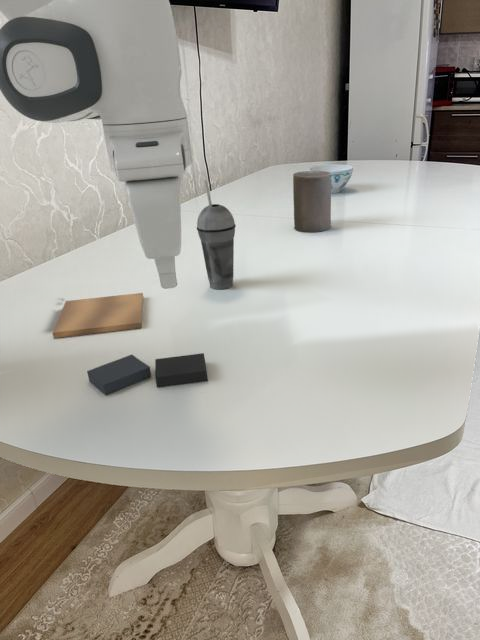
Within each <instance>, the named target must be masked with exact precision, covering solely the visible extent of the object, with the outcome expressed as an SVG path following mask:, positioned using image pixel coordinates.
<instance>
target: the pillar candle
mask: <svg viewBox="0 0 480 640" xmlns="http://www.w3.org/2000/svg"><path fill="white" fill-rule="evenodd" d="M292 187H293V188H292V189H293V190H292V191H293V195H292V196H293V224H294V225H293V229H294V230H295V231H298V232H302V233H318V232H324V231H327V230H330V229H331V225H332V224H331V223H332V221H331V220H332V193H331V173H330V172H326V171H312V168H311V171H308V170H305V171H297V172H294V173H293V175H292Z"/></svg>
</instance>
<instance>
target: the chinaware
mask: <svg viewBox="0 0 480 640" xmlns="http://www.w3.org/2000/svg"><path fill="white" fill-rule="evenodd" d="M311 168H312V171H326V172H330V173H331V194H338V193H340V192H341V190H342V188H344V187H345V186H346V185H347V184H348V182H349V181H350V180H351V177H352V175H353V172H354V166H353V165H348V164H320V165H313V166H310V167H308V168H307V171H311Z"/></svg>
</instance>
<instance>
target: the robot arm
mask: <svg viewBox="0 0 480 640" xmlns="http://www.w3.org/2000/svg"><path fill="white" fill-rule="evenodd" d="M0 13H1V14H2V15H3V16H4V17H5V18H6V19H7V20H8V21H6V22H5V23H4V24H3V25H2V26H1V27H0V93H1V94H2V96H3V97H4V98H5V100H6V101H7V102H8V104H9V105H10V106H11V107H12V108H13V109H14V110H16V112H18V113H20V114H21V115H23V116H24V117H26V118H28V119H31V120H33V121H38V122H43V123H48V124H60V123H66V122H77V121H81V120H83V121H84V120H101V124H102V130H103V136H104V142H105V146H106V147H105V148H106V152H107V157H108V162H109V168H110V171H111V172H113V173H115V174H116V175H115V176H116V179H117V181H118V182H119V183H123V182H124V188H125V192H126V196H127V201H128V203H129V207H130V210H131V215H132V219H133V222H134V226H135V229H136V233H137V237H138V240H139V243H140V246H141V249H142V252H143V254H144V256H145V258H146V259H148V260H154V263H155V267H156V270H157V273H158V277H159V283H160V287H161V288H162V289H165V290H166V289H175V288H176V287H177V285H178V280H177V272H176V257H177V256H179V255H180V254H181V251H182V209H181V205H182V204H181V183H182V182H183V180H184V175H185V171H186V169H187V168H188V166H190V165H192V164H193V154H192V145H191V139H190V138H191V137H190V129H189V122H188V114H187V110H186V108H185V105H184V103H183V98H182V94H181V79H182V63H181V62H182V61H181V56H180V49H179V48H180V47H179V42H178V36H177V30H176V25H175V19H174V15H173V11H172V7H171V2H170V0H0Z"/></svg>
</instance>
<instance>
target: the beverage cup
mask: <svg viewBox="0 0 480 640" xmlns="http://www.w3.org/2000/svg"><path fill="white" fill-rule="evenodd" d="M203 182H204V187H205V192H206V197H207V203H208V205H207V206H205V207H204V208H202V210H201V211H200V212H199V214H198V217H197V220H196V231H197V234H198V237H199V240H200V243H201V248H202V249H201V250H202V254H203V259H204V264H205V270H206V274H207V280H208V283H209V287H210V289H213V290H218V291H219V290H227V289H230V288H232V287H234V260H235V259H234V256H235V255H234V252H235V251H234V250H235V249H234V243H235V235H236V227H237V225H236V223H235V222H236V221H235V218H234V216H233V214H232V212H231V211H230V210H229V209H228V208H227V207H226V206H224V205H223V204H219V203H212V199H211V193H210V188H209V184H208V180H207V179H204V181H203Z"/></svg>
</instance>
